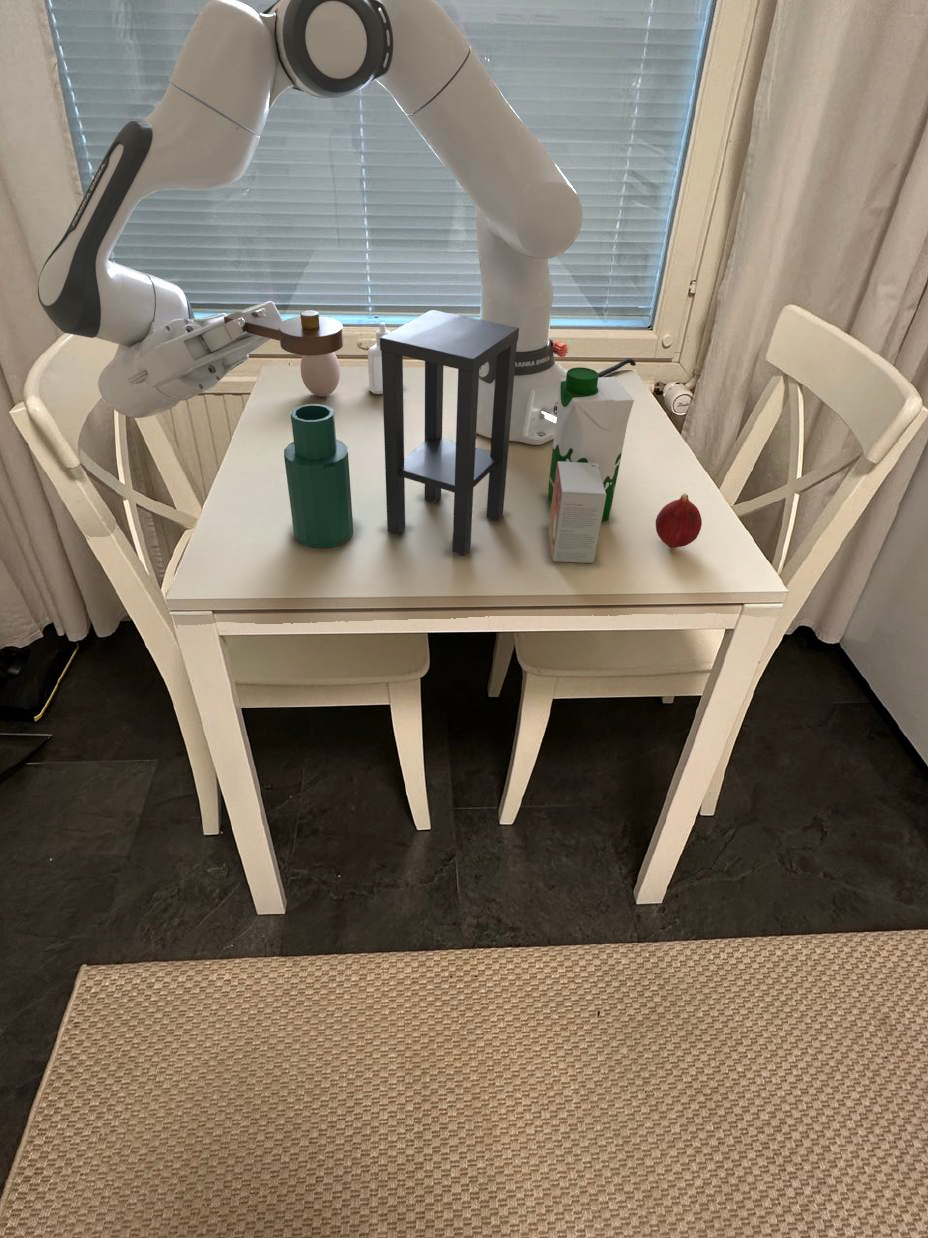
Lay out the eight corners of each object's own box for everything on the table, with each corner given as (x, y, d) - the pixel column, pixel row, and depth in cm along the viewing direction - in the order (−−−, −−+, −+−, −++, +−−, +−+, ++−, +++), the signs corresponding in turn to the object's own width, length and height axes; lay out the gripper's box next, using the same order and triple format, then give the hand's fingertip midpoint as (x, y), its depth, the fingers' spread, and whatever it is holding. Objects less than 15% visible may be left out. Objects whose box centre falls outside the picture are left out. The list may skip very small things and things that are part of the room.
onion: (702, 556, 100) (717, 504, 95) (663, 562, 99) (677, 509, 94) (680, 532, 105) (694, 481, 99) (643, 538, 103) (654, 486, 98)
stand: (386, 531, 102) (379, 337, 86) (430, 492, 111) (431, 309, 94) (464, 556, 98) (473, 359, 82) (504, 514, 107) (519, 327, 90)
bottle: (338, 511, 106) (328, 394, 95) (363, 538, 101) (356, 418, 90) (285, 525, 102) (269, 406, 92) (308, 554, 97) (294, 432, 87)
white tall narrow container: (399, 395, 137) (398, 328, 129) (368, 394, 137) (365, 327, 129) (400, 385, 140) (399, 319, 132) (370, 384, 140) (367, 318, 132)
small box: (547, 528, 104) (556, 459, 97) (588, 530, 104) (599, 461, 97) (551, 562, 98) (560, 491, 91) (594, 564, 98) (607, 493, 91)
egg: (349, 395, 136) (346, 341, 130) (320, 406, 132) (315, 351, 126) (324, 384, 139) (320, 331, 133) (295, 395, 135) (289, 340, 129)
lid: (211, 332, 86) (206, 302, 84) (252, 316, 91) (247, 286, 89) (319, 360, 81) (316, 328, 79) (355, 341, 86) (354, 310, 84)
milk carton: (540, 494, 111) (555, 360, 98) (599, 491, 112) (621, 358, 100) (555, 527, 105) (574, 387, 92) (617, 523, 106) (644, 385, 93)
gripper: (105, 359, 87) (171, 318, 79) (227, 312, 101) (294, 272, 93) (137, 410, 90) (204, 375, 81) (251, 357, 104) (318, 323, 95)
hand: (253, 320), depth 87 cm, fingers closed on lid, 2 cm apart
